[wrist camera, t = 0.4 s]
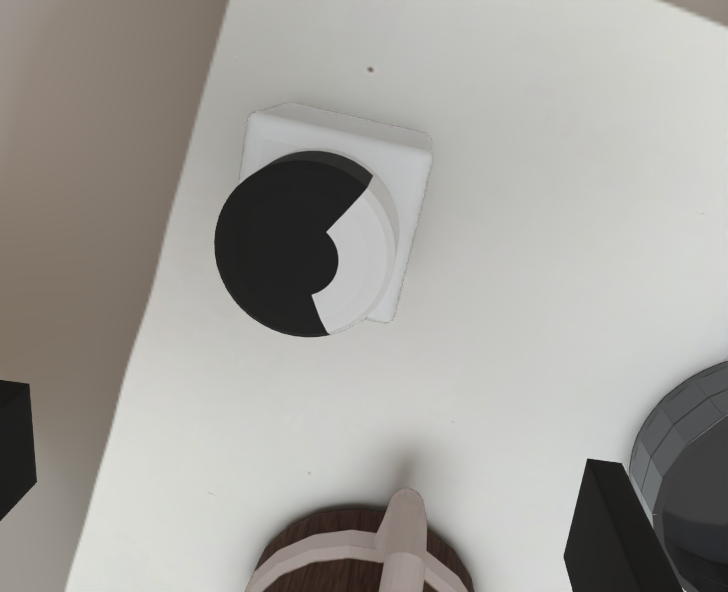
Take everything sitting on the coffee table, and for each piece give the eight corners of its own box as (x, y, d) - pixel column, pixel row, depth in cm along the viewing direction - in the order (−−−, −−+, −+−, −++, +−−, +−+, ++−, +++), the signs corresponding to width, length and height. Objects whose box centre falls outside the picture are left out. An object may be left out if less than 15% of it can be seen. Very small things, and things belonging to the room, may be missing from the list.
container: (261, 243, 37) (178, 333, 25) (285, 100, 34) (205, 121, 22) (399, 275, 37) (384, 381, 24) (433, 133, 34) (436, 174, 22)
